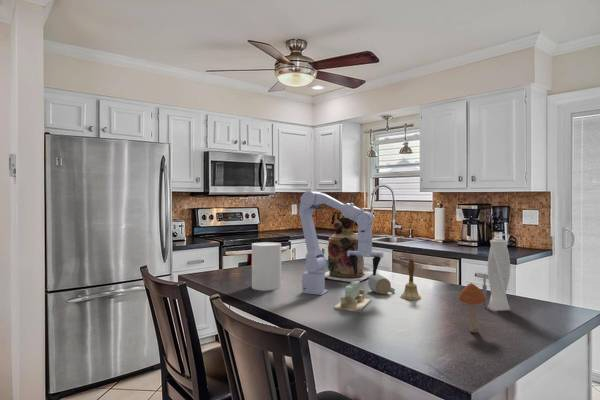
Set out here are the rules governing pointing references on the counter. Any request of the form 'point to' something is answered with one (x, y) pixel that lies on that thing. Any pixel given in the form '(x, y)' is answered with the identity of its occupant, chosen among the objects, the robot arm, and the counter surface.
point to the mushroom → (472, 303)
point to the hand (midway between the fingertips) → (365, 274)
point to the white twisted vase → (497, 275)
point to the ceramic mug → (380, 284)
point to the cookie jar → (344, 253)
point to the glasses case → (352, 289)
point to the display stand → (353, 303)
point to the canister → (266, 266)
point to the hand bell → (411, 285)
